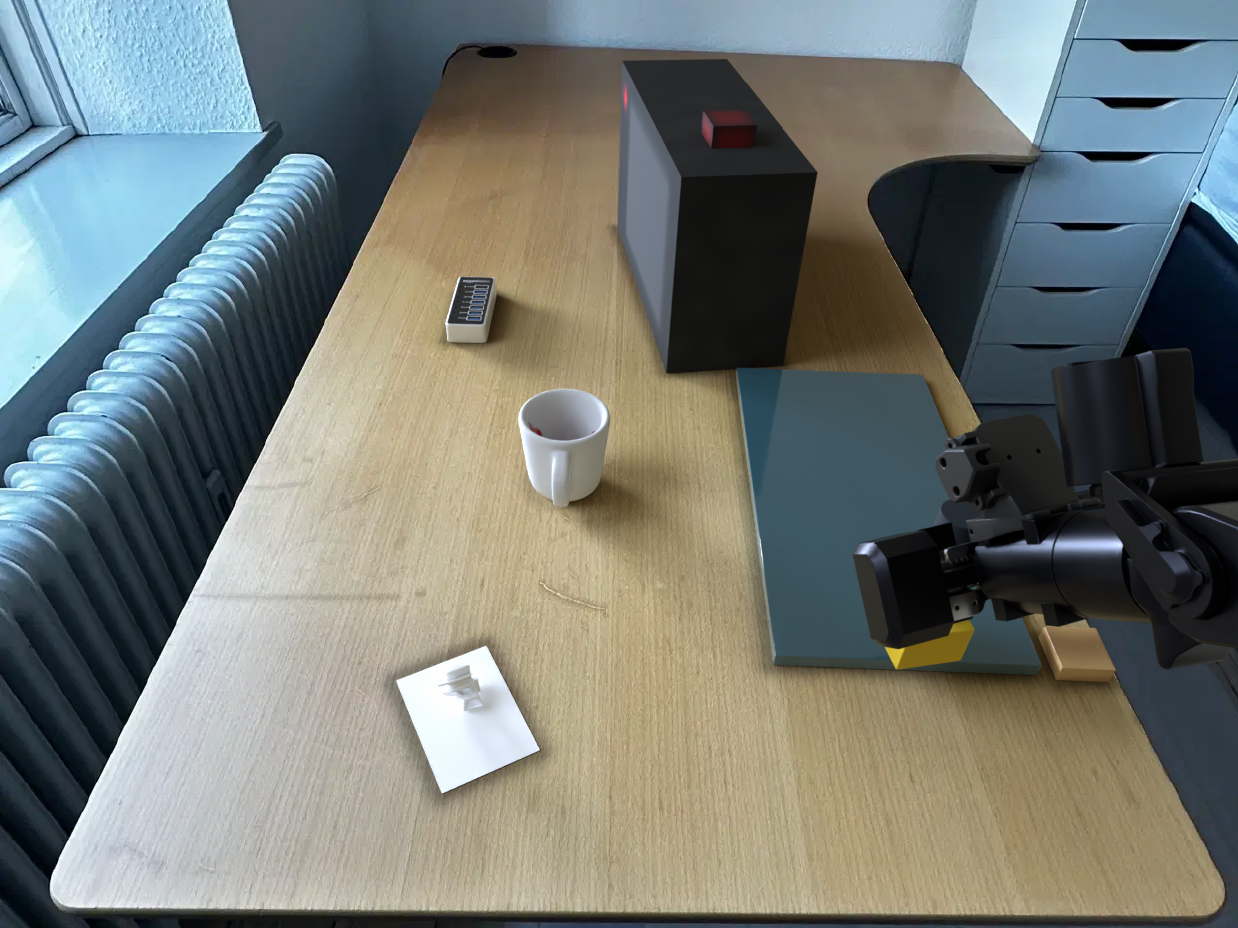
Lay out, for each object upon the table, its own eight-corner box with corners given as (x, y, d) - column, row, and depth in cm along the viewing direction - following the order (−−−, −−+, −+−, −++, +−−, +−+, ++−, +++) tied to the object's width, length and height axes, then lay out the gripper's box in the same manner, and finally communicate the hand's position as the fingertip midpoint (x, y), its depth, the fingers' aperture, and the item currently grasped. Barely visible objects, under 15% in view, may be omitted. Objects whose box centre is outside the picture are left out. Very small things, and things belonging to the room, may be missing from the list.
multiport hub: (446, 342, 100) (444, 324, 98) (460, 292, 108) (458, 275, 107) (486, 343, 100) (485, 325, 98) (497, 293, 108) (495, 276, 107)
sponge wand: (961, 660, 63) (1018, 535, 55) (896, 670, 63) (945, 544, 55) (929, 607, 67) (979, 483, 59) (867, 615, 66) (909, 491, 58)
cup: (606, 536, 77) (608, 467, 72) (514, 533, 77) (510, 464, 72) (609, 456, 85) (611, 388, 80) (526, 453, 85) (522, 386, 80)
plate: (1037, 675, 67) (1042, 665, 67) (773, 665, 67) (775, 655, 67) (920, 383, 96) (923, 374, 95) (735, 376, 96) (736, 367, 95)
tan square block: (1108, 682, 67) (1116, 670, 66) (1055, 680, 67) (1062, 668, 66) (1088, 639, 70) (1095, 627, 69) (1037, 637, 70) (1044, 625, 69)
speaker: (725, 223, 125) (746, 40, 109) (802, 364, 98) (844, 148, 83) (617, 228, 122) (622, 41, 107) (666, 373, 96) (683, 153, 81)
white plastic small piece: (475, 680, 66) (472, 653, 64) (488, 707, 64) (485, 680, 62) (436, 695, 64) (431, 669, 62) (448, 723, 63) (444, 697, 61)
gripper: (1201, 385, 49) (1013, 425, 64) (909, 445, 45) (780, 473, 60) (1249, 583, 49) (1048, 577, 64) (959, 665, 44) (815, 637, 59)
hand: (926, 562), depth 62 cm, fingers closed on sponge wand, 3 cm apart
